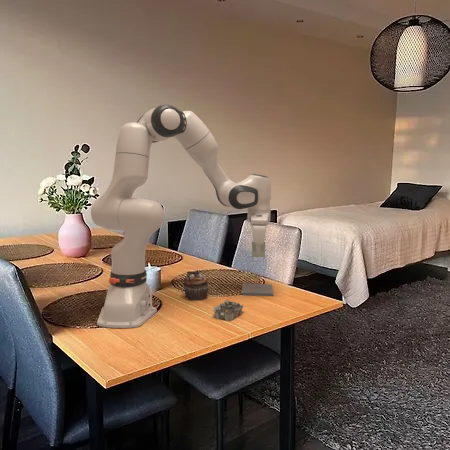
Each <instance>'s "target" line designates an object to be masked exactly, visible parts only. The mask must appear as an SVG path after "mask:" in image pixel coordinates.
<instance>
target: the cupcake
mask: <svg viewBox="0 0 450 450" xmlns="http://www.w3.org/2000/svg"><path fill="white" fill-rule="evenodd" d="M182 286H183V289H184V294H185V298H186V299H187V300H190V301H193V302H194V301H198V302H199V301H204V300H206V299H207V298H208V292H209V288H210V284H209V282H208V279H207V277H205V276H204V275H203V274H202V273H201V272H200V270H198V269H197V270H195V271H189V270H188V271H187V273H186V276H185V277H184V278H183V283H182Z"/></svg>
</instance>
